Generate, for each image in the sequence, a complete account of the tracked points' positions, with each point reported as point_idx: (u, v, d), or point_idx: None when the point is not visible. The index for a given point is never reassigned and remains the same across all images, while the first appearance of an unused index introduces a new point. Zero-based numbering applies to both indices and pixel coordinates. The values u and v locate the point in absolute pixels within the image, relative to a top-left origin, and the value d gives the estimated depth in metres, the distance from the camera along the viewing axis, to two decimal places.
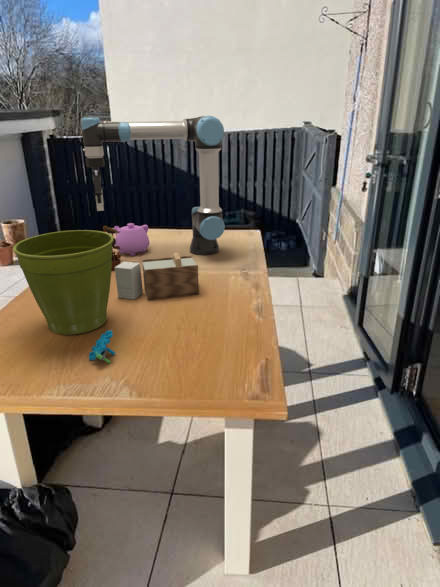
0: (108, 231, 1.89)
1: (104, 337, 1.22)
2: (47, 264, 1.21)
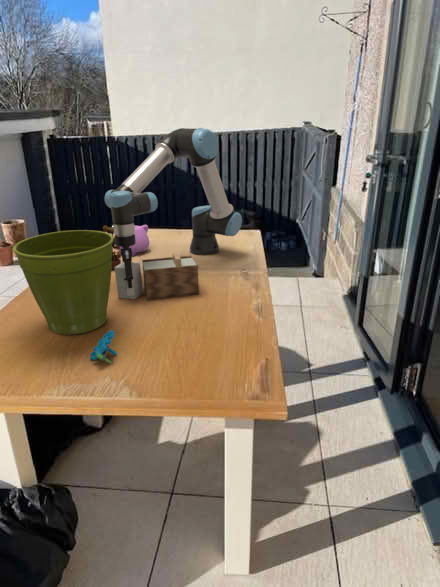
0: (108, 231, 1.89)
1: (106, 337, 1.22)
2: (47, 264, 1.21)
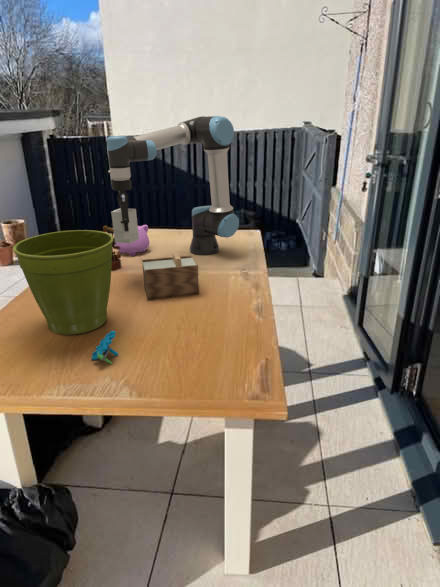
0: (108, 231, 1.89)
1: (107, 337, 1.22)
2: (47, 264, 1.21)
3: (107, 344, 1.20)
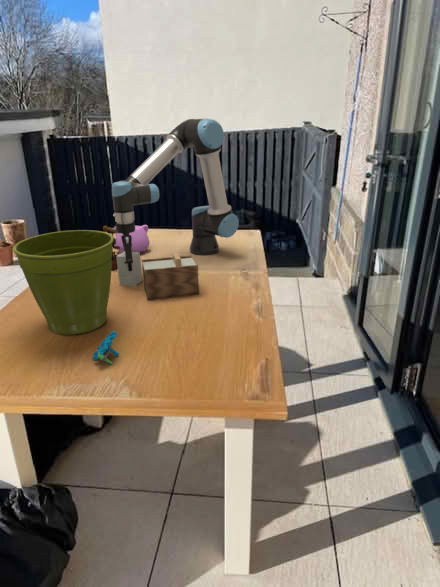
0: (108, 231, 1.89)
1: (108, 337, 1.22)
2: (47, 264, 1.20)
3: (108, 344, 1.20)
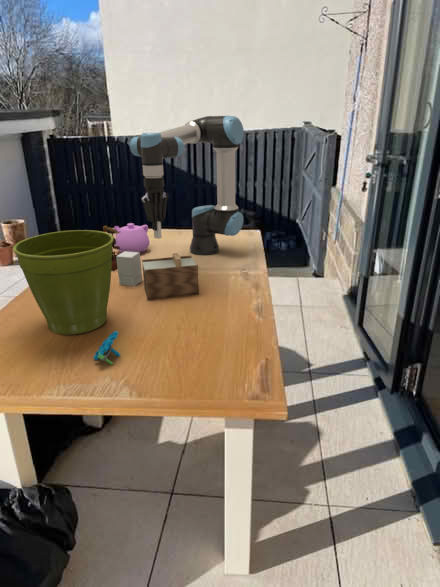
0: (108, 231, 1.89)
1: (110, 338, 1.22)
2: (47, 264, 1.21)
3: (109, 344, 1.20)
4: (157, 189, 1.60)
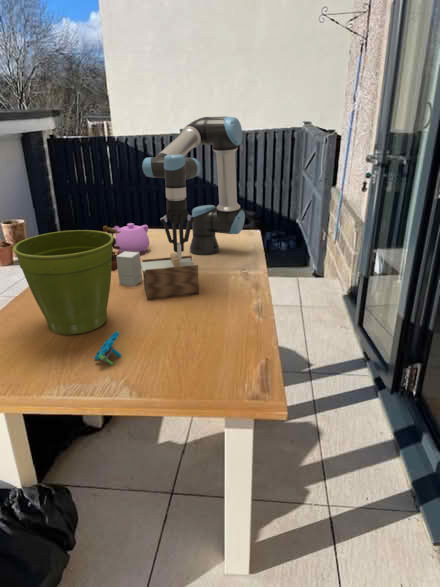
0: (108, 231, 1.89)
1: (111, 338, 1.22)
2: (47, 264, 1.21)
3: (109, 345, 1.19)
4: (178, 211, 1.57)
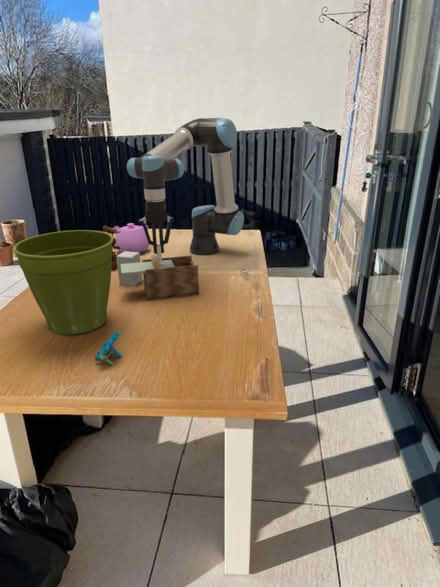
0: (108, 231, 1.89)
1: (112, 338, 1.22)
2: (47, 264, 1.21)
3: (110, 345, 1.19)
4: (157, 213, 1.55)
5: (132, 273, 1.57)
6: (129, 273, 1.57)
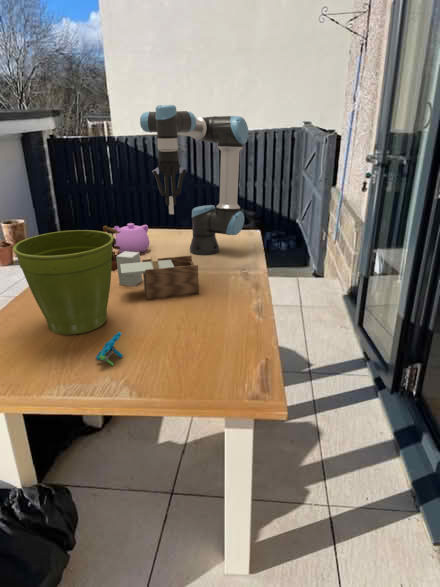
0: (108, 231, 1.89)
1: (113, 338, 1.22)
2: (47, 264, 1.21)
3: (111, 345, 1.19)
4: (170, 163, 1.58)
5: (132, 273, 1.57)
6: (129, 273, 1.57)
